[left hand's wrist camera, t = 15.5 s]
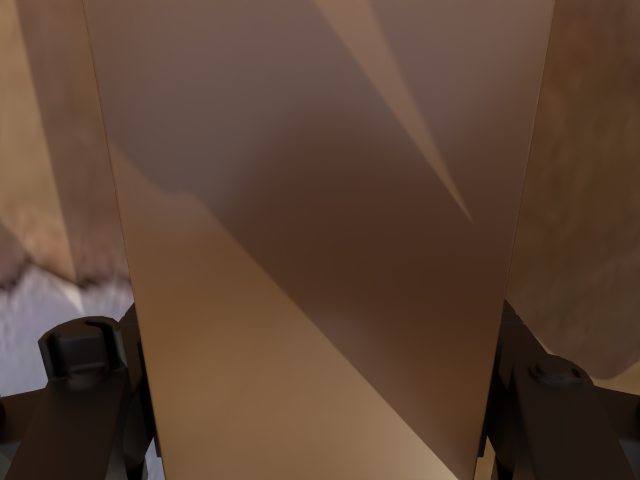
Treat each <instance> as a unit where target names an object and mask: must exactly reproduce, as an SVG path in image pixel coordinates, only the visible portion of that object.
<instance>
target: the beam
mask: <svg viewBox="0 0 640 480" xmlns="http://www.w3.org/2000/svg"><path fill="white" fill-rule="evenodd" d="M555 1H556V0H83V6H84V12H85V18H86V23H87V29H88V35H89V41H90V47H91V52H92V58H93V64H94V70H95V76H96V81H97V87H98V93H99V99H100V105H101V110H102V116H103V122H104V128H105V134H106V139H107V145H108V151H109V157H110V163H111V168H112V174H113V180H114V186H115V192H116V197H117V203H118V209H119V215H120V221H121V226H122V232H123V238H124V244H125V250H126V255H127V261H128V267H129V273H130V279H131V284H132V290H133V296H134V302H135V308H136V313H137V319H138V325H139V331H140V337H141V342H142V348H143V354H144V360H145V366H146V371H147V377H148V383H149V389H150V395H151V400H152V406H153V412H154V418H155V424H156V429H157V435H158V441H159V447H160V453H161V458H162V464H163V470H164V476H165V480H474V475H475V469H476V464H477V458H478V452H479V446H480V440H481V434H482V428H483V423H484V417H485V411H486V405H487V399H488V393H489V387H490V382H491V376H492V370H493V364H494V358H495V352H496V346H497V341H498V335H499V329H500V323H501V317H502V311H503V305H504V299H505V294H506V288H507V282H508V276H509V270H510V264H511V258H512V253H513V247H514V241H515V235H516V229H517V223H518V217H519V212H520V206H521V200H522V194H523V188H524V182H525V176H526V171H527V165H528V159H529V153H530V147H531V141H532V135H533V130H534V124H535V118H536V112H537V106H538V100H539V94H540V89H541V83H542V77H543V71H544V65H545V59H546V53H547V47H548V42H549V36H550V30H551V24H552V18H553V12H554V6H555Z"/></svg>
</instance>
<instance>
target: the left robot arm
mask: <svg viewBox="0 0 640 480" xmlns="http://www.w3.org/2000/svg"><path fill="white" fill-rule="evenodd" d="M38 344H39V348H40V352H41V355H42V359H43V363H44V366H45V370H46V374H47V377H48V383H47V385H46V387H45V388H43V389H39V390H35V391H30V392H25V393H21V394H16V395H11V396H6V397H1V396H0V480H147V479H148V471H147V465H146V459H145V454H146V452H147V450H148V448H149V445H150V443H151V441H152V439H153V437H154V443H155V448H156V454H157V457H161V453H160V447H159V441H158V435H157V429H156V424H155V418H154V412H153V406H152V400H151V395H150V389H149V383H148V377H147V371H146V366H145V360H144V354H143V348H142V342H141V337H140V331H139V325H138V319H137V313H136V308H135V302H134V303H133V304H132V305H131V307H130V308H129V309H128V311H127V312H126V313H125V316H123V317H122V318H121V320H120V321H119V322H117V321H116V320H114V319H113V318H108V317H104V316H89V317H83V318H78V319H73V320H70V321H68V322H65V323H63V324H60V325H57V326H56V327H54V328H53V329H51V330H49V331H48V332H46V333H45V334H44V335H43V336H42V337H41V338H40V339H39V340H38ZM487 435H488V438H489V440H490V442H491V444H492V447H493V449H494V451H495V453H496V454H495V459H494V465H493V470H492V475H491V480H640V396H639V395H634V394H629V393H625V392H620V391H615V390H610V389H605V388H601V387H597V386H594V384H593V382H592V380H591V379H590V377H589V376H588V375H587V373H586V372H585V371H584V370H583V369H581V368H580V367H578V366H577V365H576V364H574V363H573V362H571V361H568V360H566V359H564V358H561V357H559V356H555V355H551V354H548V353H547V352H546V351H545V350H544V348H543V347H542V346H541V344H540V343H539V342H538V340H537V339H536V338H535V337H534V335H533V334H532V333H531V331H530V330H529V329H528V328H527V326H526V325H523V321H522V320H521V319H520V317H519V316H518V315H516V312H515V311H514V309H513V308H512V307H511V306H510V304H509V303H508V302H507V301H506V300H505V299H504V305H503V311H502V317H501V323H500V329H499V335H498V341H497V346H496V352H495V358H494V364H493V370H492V376H491V382H490V387H489V393H488V399H487V405H486V411H485V417H484V423H483V428H482V434H481V440H480V446H479V452H478V457H483V456H484V450H485V445H486V439H487Z"/></svg>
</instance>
